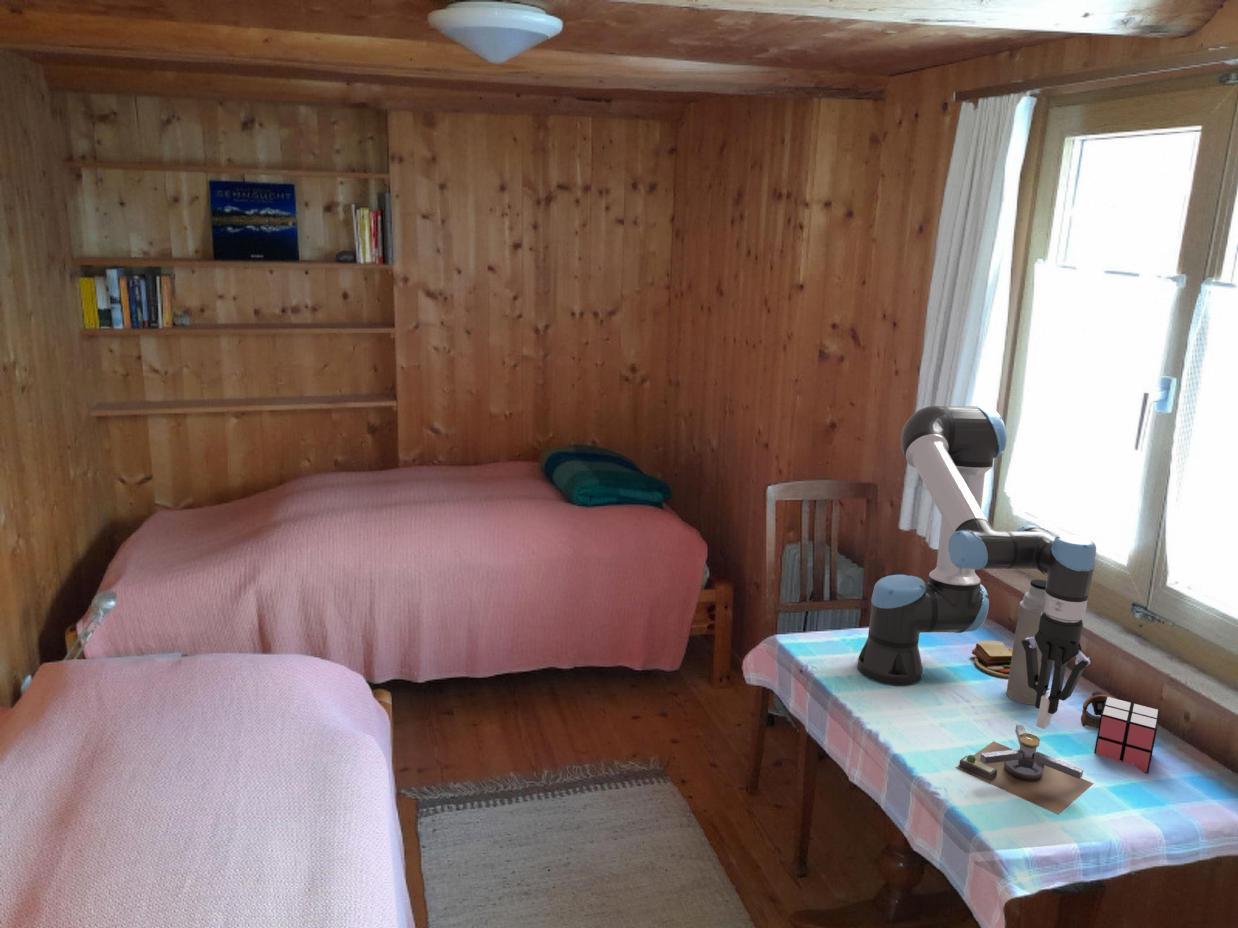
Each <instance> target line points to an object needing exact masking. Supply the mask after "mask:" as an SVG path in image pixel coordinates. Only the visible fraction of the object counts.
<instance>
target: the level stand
mask: <svg viewBox="0 0 1238 928" xmlns="http://www.w3.org/2000/svg"><path fill="white" fill-rule="evenodd" d="M1013 749H1014V748H1011V747H1008V746H1007V745H1004V744H1001V743H999V742H997V741H994V740H993V741H992V742H991V743H989V744H987V745H986V746H985V747H983V748H981V749H980V750H978V751H977V752H975V754H969V755H965V756H964V757H963V758H961V759H959V764H958V765H957V766H955V769H957V770H959V771H962V772H963V773H966V774H968V775H971V776H973V777H975V778H977V779H979V780H981V781H983V782H986V783H988V784H990V785H992V786H995V787H997V788H999V789H1001V790H1003V791H1006V792H1007V793H1009V794H1011V795H1014V796H1016V797H1019V798H1021V799H1023V800H1025V801H1027V802H1029V803H1032V804H1034V805H1035V806H1038V807H1040V808H1042V809H1045V810H1046V811H1049V812H1051V813H1053V814H1056V815H1060V814H1061V813H1062V812H1063V811H1064V810H1066V809H1067V808H1068V806H1071V804H1072V803H1074V802H1075V801H1076V800H1077V799H1079V797H1080V796H1081V795H1082V794H1084V793H1085V792H1086V791H1087V790H1088V789H1089V788H1090V787H1092V786H1093V784H1094V783H1093V782H1091V781H1089V780H1087V779H1085V778H1082V777H1081V778H1080V779H1078V778H1075V777H1073V776H1070V775H1068V774H1065V773H1063V772H1060V771H1058V770H1055V769H1053V768H1050V767H1048V766H1045V765H1044V770H1043V776H1042V778H1041V779H1040V780H1038V781H1024V780H1020V779H1017V778H1015V777H1013V776H1011V775H1009V774H1008V773H1007V772H1006V771H1005V770H1004V762H1005V761H1004V762H996V763H988V764H984V763H983V762H982V761H981V760H980V757H981V753H988V752H996V751H1004V750H1013Z"/></svg>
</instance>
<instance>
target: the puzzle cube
mask: <svg viewBox="0 0 1238 928" xmlns="http://www.w3.org/2000/svg"><path fill="white" fill-rule="evenodd" d="M1111 697H1112V696H1111ZM1111 697H1106V698H1105V702H1104V705H1103V709H1102V712H1101V715H1099V717H1100V722H1099V728H1097V734H1096V740H1095V745H1094V752H1093V754H1096V755H1098V756H1102V757H1106V758H1109V759H1113V760H1116V761H1121V762H1123V763H1126V764H1130V765H1133V766H1134V767H1135V768H1137V769H1139V770H1140V771H1141V772H1142V773H1144V774H1149V773H1150V767H1151V762H1152V756H1153V751H1154V746H1155V742H1156V738H1157V737H1156V736H1157V730H1158V725H1159V720H1160V719H1159V717H1160V712H1161V711H1160V710H1159V709H1157V708H1153V707H1150V706H1149V707H1148V706H1145V705H1141V704H1137V703H1133V704H1132V702H1130V701H1125V700H1122V699H1117V698H1114V697H1112V698H1111Z"/></svg>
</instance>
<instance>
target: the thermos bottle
mask: <svg viewBox="0 0 1238 928" xmlns="http://www.w3.org/2000/svg"><path fill="white" fill-rule="evenodd" d="M1046 582H1047V580H1045V579H1032V580H1030V586H1029V591H1027V592H1024V596H1023V597H1022V598H1023V600H1021V601H1020V602H1019V604H1018V605H1019V607H1018V612H1017V613H1018V614H1017V621H1016V627H1015V632H1014V640H1013V647H1012V648H1013V652H1012V659H1011V665H1010V672H1009V678H1008V679H1007V686H1006V695H1007V696H1008V698H1010V699H1011V700H1013V701H1015V702H1019V703H1021V704H1025V705H1026V704H1027V705H1035V703H1036V697H1037V692H1036V691H1035V690H1034V689H1033V688H1029V686H1028V678H1027V665H1026V653H1025V649H1024V647H1023V645H1022V640H1024V639H1025V638H1027V637H1035V634H1036V633H1037V632H1038V630H1039V623H1040V617H1041V613H1042V612H1043V610H1042V606H1043V600H1044V594H1045V588H1046ZM1036 648H1037V658H1038V671H1039V674H1040V669H1041V663H1042V662H1041V657H1042V653H1041V651H1040V649H1039V647H1038V645H1037V647H1036Z"/></svg>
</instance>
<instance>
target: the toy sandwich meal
mask: <svg viewBox="0 0 1238 928" xmlns="http://www.w3.org/2000/svg"><path fill="white" fill-rule="evenodd" d="M1012 652H1013V647H1012V648H1011V647H1010V648H1007V647H1006V645H1005V644H1004V642H1002V641H999V640H979V641H977V642H976V644H975V648H973V649H972V651H971V654H972V655H974V656H975V658H974V663H975V665H977V667H978V668H979V669H980V670H981V671H983V672H985V673H986V674H990V675H991V676H995V677H999V678H1005V679H1007V678H1008V679H1009V672H1010V665H1011V659H1012Z"/></svg>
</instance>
